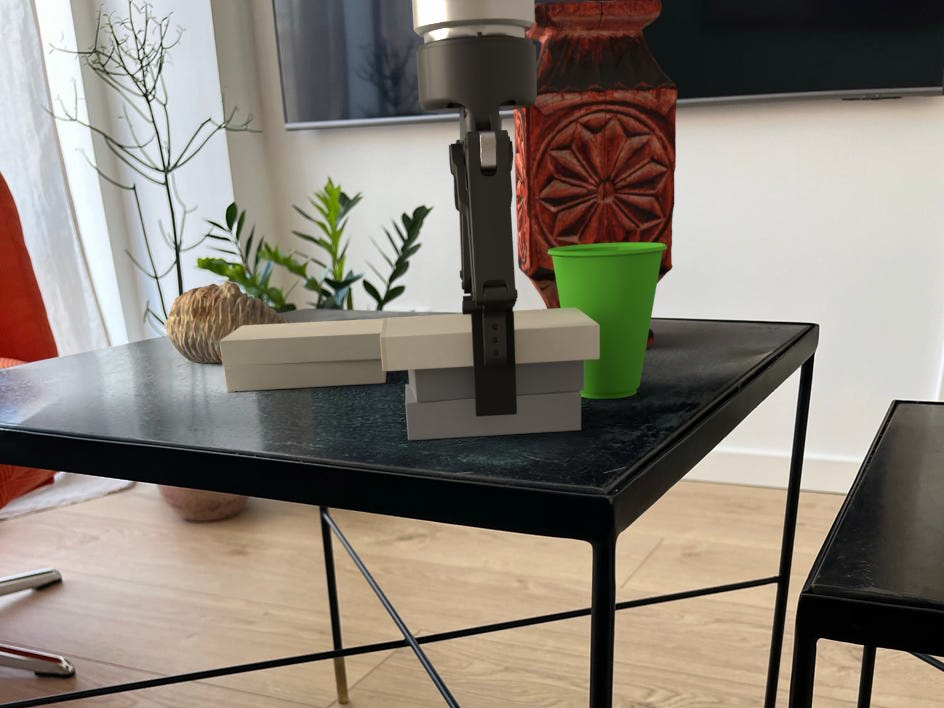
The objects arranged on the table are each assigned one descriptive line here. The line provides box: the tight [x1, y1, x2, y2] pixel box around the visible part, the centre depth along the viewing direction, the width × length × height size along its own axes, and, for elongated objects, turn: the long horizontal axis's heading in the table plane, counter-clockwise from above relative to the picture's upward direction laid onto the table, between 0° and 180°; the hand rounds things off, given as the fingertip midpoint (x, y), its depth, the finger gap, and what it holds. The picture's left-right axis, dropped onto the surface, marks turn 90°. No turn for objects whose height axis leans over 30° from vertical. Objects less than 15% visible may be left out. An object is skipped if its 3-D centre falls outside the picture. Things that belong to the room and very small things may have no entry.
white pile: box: [219, 318, 388, 393], centre depth 93 cm, size 14×11×4 cm
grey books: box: [404, 360, 584, 442], centre depth 72 cm, size 12×8×5 cm, turn 94°
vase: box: [513, 0, 679, 349], centre depth 99 cm, size 14×14×30 cm
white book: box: [380, 307, 600, 372], centre depth 71 cm, size 14×10×2 cm
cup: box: [548, 242, 667, 400], centre depth 79 cm, size 9×9×11 cm
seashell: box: [163, 280, 291, 364], centre depth 106 cm, size 14×10×10 cm
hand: (490, 398), depth 72 cm, fingers closed on white book, 10 cm apart
